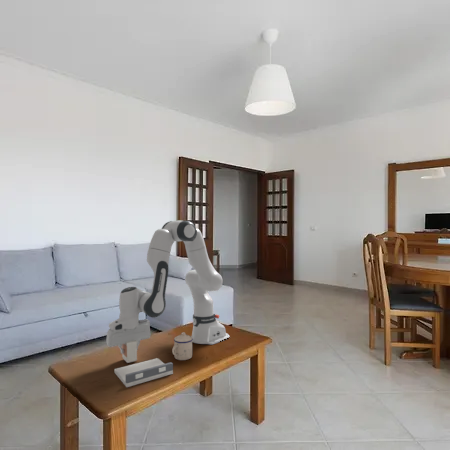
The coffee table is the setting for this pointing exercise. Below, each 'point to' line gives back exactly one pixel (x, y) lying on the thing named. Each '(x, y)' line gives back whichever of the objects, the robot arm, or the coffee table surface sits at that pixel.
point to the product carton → (130, 351)
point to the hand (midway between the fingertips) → (129, 351)
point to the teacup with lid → (182, 347)
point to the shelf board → (143, 371)
